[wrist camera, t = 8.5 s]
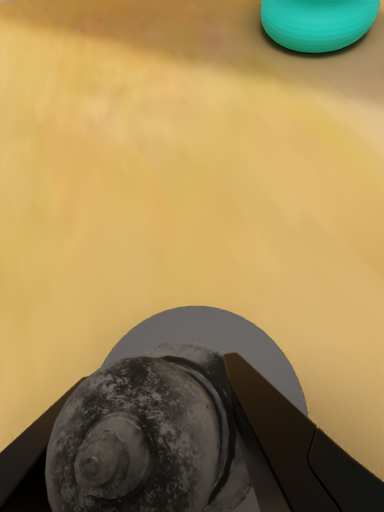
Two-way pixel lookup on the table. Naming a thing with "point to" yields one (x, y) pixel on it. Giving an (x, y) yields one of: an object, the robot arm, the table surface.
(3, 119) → the table surface
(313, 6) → the donuts
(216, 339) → the charcoal mat
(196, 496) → the dark grey tall piece
